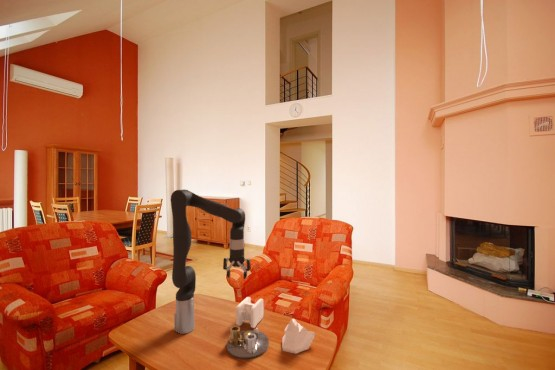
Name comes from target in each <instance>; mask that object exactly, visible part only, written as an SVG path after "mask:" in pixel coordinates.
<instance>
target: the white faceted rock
mask: <svg viewBox="0 0 555 370" xmlns="http://www.w3.org/2000/svg"><path fill="white" fill-rule="evenodd" d="M283 331H284V335H283V336H282V338H281V341H282V345H281V346H282V347H281V349H282V351H283V352H287V353H291V354H295V355H297V354H299V353H301V352H304V351H306V350H309V349H310V347H311V345H312V342H313V341H314V338H315V336H316V334H315V331H308V330H307V328H306V327H305V326H302V325H301V324H300V323H299V322H298V321H297V320H296V319H295V318H292V319H290V320H289V323H288V324H287V325H286V326H285V329H284V330H283Z"/></svg>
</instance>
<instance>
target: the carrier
mask: <svg viewBox="0 0 555 370" xmlns="http://www.w3.org/2000/svg"><path fill="white" fill-rule="evenodd" d="M248 334H255V335H256V343H257V344H258V346H259V349H258V352H256V353H254V354H253V353H252V354H247V353H245V352H244V346H245V344H246V336H247V335H248ZM240 335H242V342H241V343H240V344H238V345H234V344H233V345H231V344H229V339H228V340H227V342H226V351H227V352H228V354H230V355H231V357H234V358H236V359H242V360H249V359H255V358H258V357H260V356H261V355H263V354H264V353H265V352H266V351H267V350H268V348H269V345H270V343H269V337H268V336H267V335H266V334H265V333H263V332H262V331H261V330H260V331H259V328H258V327H255V328H254V330H253V329H246V330H242V331H241V330H240Z"/></svg>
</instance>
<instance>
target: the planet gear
mask: <svg viewBox="0 0 555 370" xmlns="http://www.w3.org/2000/svg"><path fill="white" fill-rule="evenodd" d="M258 349H259V346H258V344H257V343H256V335H255V334H248V335H247V336H246V344H245V346H244V352H245V353H247V354H252V353H253V354H254V353H256V352H258Z"/></svg>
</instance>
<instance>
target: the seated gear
mask: <svg viewBox="0 0 555 370" xmlns="http://www.w3.org/2000/svg"><path fill="white" fill-rule="evenodd" d="M229 331H230V333H229V334H230V335H229V336H228V340H229V344H231V345H233V344H234V345H238V344H240V343H241V342H242V335H240V332H241V326H238V325H234V326H231V327H230V328H229Z"/></svg>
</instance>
